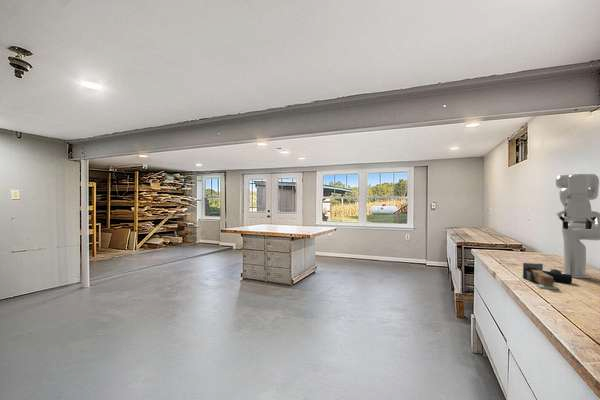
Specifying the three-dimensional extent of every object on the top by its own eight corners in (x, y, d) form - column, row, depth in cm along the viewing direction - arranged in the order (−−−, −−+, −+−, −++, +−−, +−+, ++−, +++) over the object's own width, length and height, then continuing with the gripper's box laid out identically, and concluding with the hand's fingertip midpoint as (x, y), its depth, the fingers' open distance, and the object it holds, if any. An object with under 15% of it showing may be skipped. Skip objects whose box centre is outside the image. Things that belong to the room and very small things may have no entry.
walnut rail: (529, 277, 163) (529, 269, 162) (538, 278, 161) (538, 269, 161) (543, 286, 147) (544, 276, 147) (553, 286, 146) (553, 277, 146)
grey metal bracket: (522, 278, 165) (522, 262, 165) (541, 279, 163) (541, 263, 162) (528, 281, 158) (528, 265, 158) (548, 283, 156) (548, 266, 156)
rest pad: (536, 286, 151) (536, 284, 151) (554, 287, 148) (554, 285, 148) (540, 288, 147) (540, 286, 147) (559, 289, 144) (559, 287, 144)
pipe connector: (539, 266, 172) (573, 271, 160) (539, 275, 172) (573, 280, 160) (535, 270, 165) (570, 275, 153) (535, 279, 165) (570, 285, 153)
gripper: (561, 197, 150) (560, 229, 151) (602, 197, 145) (602, 230, 145) (553, 197, 157) (553, 227, 158) (592, 197, 152) (592, 228, 152)
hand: (576, 229), depth 151 cm, fingers open, 9 cm apart
